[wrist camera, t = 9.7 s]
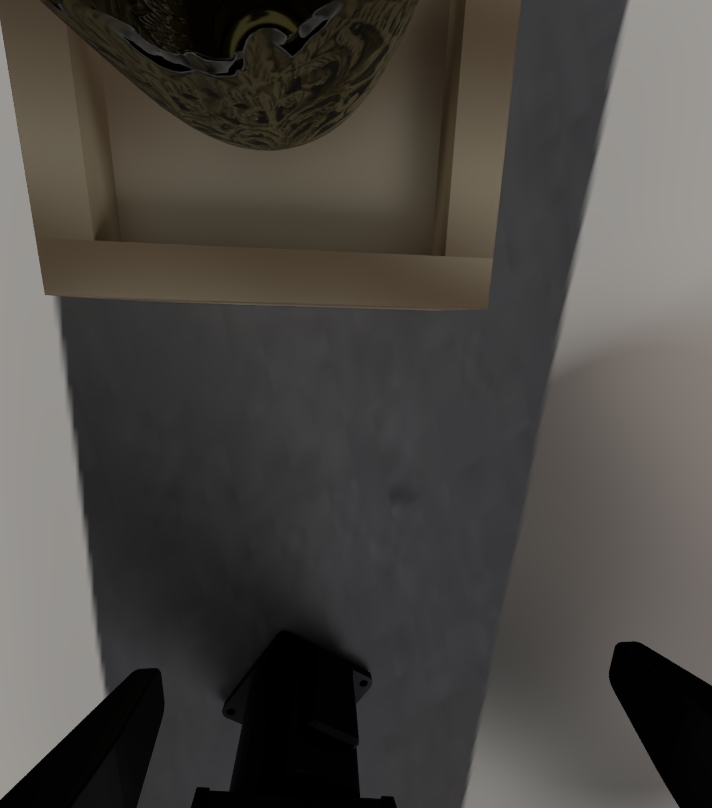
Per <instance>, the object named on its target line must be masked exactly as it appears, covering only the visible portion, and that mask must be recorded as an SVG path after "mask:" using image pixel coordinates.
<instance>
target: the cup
mask: <svg viewBox="0 0 712 808" xmlns="http://www.w3.org/2000/svg"><path fill="white" fill-rule="evenodd" d="M40 1H41V2H42V3H43V4H44V5H45V6H46V7H48V8H49V9H50V10H51V11H52V12H53V13H54V14H55V15H56V16H57V17H59V18H60V19H61V20H62V21H63V22H64V23H65V24H66V25H67V26H68V27H70V28H71V29H72V30H73V31H74V32H75V33H76V34H77V35H78V36H80V37H81V38H82V39H83V40H84V41H85V42H86V43H87V44H89V45H90V46H91V47H92V48H93V49H94V50H95V51H96V52H98V53H99V54H100V55H101V56H102V57H103V58H104V59H105V60H107V61H108V62H109V63H110V64H111V65H112V66H113V67H115V68H116V69H117V70H118V71H119V72H120V73H121V74H123V75H124V76H125V77H126V78H127V79H128V80H130V81H131V82H132V83H133V84H134V85H135V86H137V87H138V88H139V89H140V90H141V91H143V92H144V93H145V94H146V95H147V96H149V97H150V98H151V99H152V100H154V101H155V102H156V103H157V104H158V105H160V106H161V107H162V108H164V109H165V110H167V111H168V112H170V113H171V114H172V115H174V116H175V117H177V118H178V119H180V120H181V121H183V122H184V123H186V124H187V125H189V126H190V127H192V128H194V129H196V130H198V131H200V132H201V133H203V134H205V135H207V136H209V137H212V138H214V139H216V140H219V141H221V142H224V143H226V144H229V145H233V146H237V147H240V148H245V149H252V150H264V151H275V150H284V149H290V148H294V147H298V146H302V145H305V144H307V143H310V142H313V141H315V140H317V139H319V138H321V137H323V136H325V135H326V134H328V133H330V132H331V131H332V130H334V129H335V128H337V127H338V126H339V125H341V124H342V123H343V122H344V121H345V120H346V119H347V118H348V117H349V116H351V114H352V113H353V112H354V111H355V110H356V109H357V108H358V107H359V106H360V104H361V103H362V102H363V101H364V100H365V99H366V98H367V96H368V95H369V94H370V92H371V91H372V89H373V88H374V86H375V85H376V83H377V82H378V80H379V79H380V77H381V76H382V74H383V72H384V71H385V69H386V67H387V65H388V64H389V62H390V60H391V58H392V56H393V54H394V53H395V51H396V49H397V47H398V45H399V43H400V41H401V39H402V37H403V35H404V33H405V31H406V29H407V27H408V25H409V23H410V21H411V19H412V16H413V14H414V12H415V10H416V8H417V6H418V4H419V2H420V0H40Z"/></svg>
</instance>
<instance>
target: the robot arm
mask: <svg viewBox="0 0 712 808" xmlns="http://www.w3.org/2000/svg"><path fill="white" fill-rule="evenodd" d="M282 641H287V642H282ZM609 679H610V683H611V686H612V688H613V690H614V692H615V694H616V696H617V697H618V699H619V701H620V703H621V705H622V707H623V708H624V710H625V712H626V714H627V716H628V718H629V719H630V721H631V723H632V725H633V727H634V728H635V731H636V732H637V734H638V736H639V738H640V739H641V742H642V743H643V745H644V747H645V749H646V750H647V752H648V754H649V756H650V758H651V760H652V762H653V763H654V765H655V767H656V769H657V771H658V772H659V774H660V776H661V778H662V779H663V781H664V783H665V785H666V786H667V788H668V789H669V791H670V793H671V794H672V796H673V798H674V799H675V801H676V803H677V804H678V806H679V807H680V808H712V686H711V685H709V684H708V683H706V682H705V681H703V680H701V679H700V678H698V677H696V676H695V675H693V674H691V673H690V672H688V671H686V670H685V669H683V668H681V667H680V666H678V665H677V664H675V663H673V662H671V661H670V660H668V659H667V658H665V657H663V656H662V655H660V654H658V653H657V652H655V651H653V650H652V649H650V648H648V647H647V646H645V645H643V644H642V643H639V642H635V641H634V642H620V643H618V644H617V645H616V646H615V649H614V653H613V657H612V661H611V666H610V670H609ZM371 685H372V677H371V674H370V672H368V671H367V670H365V669H363V668H361V667H359V666H357V665H355V664H353V663H351V662H349V661H347V660H345V659H343V658H341V657H339V656H337V655H335V654H333V653H331V652H329V651H327V650H325V649H323V648H321V647H319V646H317V645H315V644H313V643H311V642H309V641H307V640H305V639H303V638H301V637H299V636H297V635H294V634H292V633H290V632H288V631H282V632H280V633H278V634H277V635H276V637H275V638H274V639H273V641H272V642H271V643H270V644H269V646H268V647H267V648H266V650H265V651H264V652H263V653H262V655H261V656H260V657H259V659H258V660H257V661H256V662H255V664H254V665H253V666H252V668H251V669H250V670H249V672H248V673H247V674H246V675H245V677H244V678H243V679H242V681H241V682H240V683H239V684H238V686H237V687H236V688H235V690H234V691H233V692H232V693H231V695H230V696H229V697H228V699H227V700H226V701H225V703H224V707H223V710H222V713H223V715H224V716H225V717H226V718H228V719H231V720H233V721H236V722H238V723H240V724H242V729H241V734H240V739H239V744H238V749H237V754H236V759H235V764H234V769H233V774H232V779H231V784H230V790H229V792H227V791H209V790H210V788H207V787H197V789H196V792H195V795H194V799H193V802H192V806H191V808H397V807H396V803H395V800H394V797H392V796H381V799H374V798H360V787H359V774H358V761H357V748H356V747H357V746H358V745H359V735H358V723H357V711H356V703H357V702H358V701H359V700H360V699H361V697H362V696H363V695H364V694H365V693H366V692H367V690H368V689H369V688H370V687H371ZM163 713H164V694H163V685H162V677H161V672H160V670H159V669H158V668H146V669H137V670H135V671H134V672H132V673H131V674H130V675H129V676H128V677H127V678H126V679H125V680H124V681H123V682H122V683H121V684H120V685H118V686H117V687H116V688H115V689H114V690H113V691H112V692H111V693H110V694H109V695H108V696H107V697H106V698H105V699H104V700H103V701H102V702H101V703H100V704H99V705H98V706H97V707H96V708H95V709H94V710H93V711H92V712H91V713H90V714H89V715H88V716H86V718H84V719H83V720H82V721H81V722H80V723H79V724H78V725H77V726H76V727H75V728H74V729H73V730H72V731H71V732H70V733H69V734H68V735H67V736H66V737H65V738H64V739H63V740H62V741H61V742H60V743H59V744H58V745H57V746H56V747H55V748H54V749H53V750H51V751H50V752H49V753H48V754H47V755H46V756H45V757H44V758H43V759H42V760H41V761H40V762H39V763H38V764H37V765H36V766H35V767H34V768H33V769H32V770H31V771H30V772H29V773H28V774H27V775H26V776H25V777H24V778H23V779H21V780H20V781H19V783H17V784H16V785H15V786H14V787H13V788H12V789H11V790H10V791H9V792H8V793H7V794H6V795H5V796H4V797H3V798H2V799H1V800H0V808H136V807H137V804H138V800H139V797H140V793H141V790H142V787H143V783H144V780H145V776H146V773H147V769H148V766H149V762H150V759H151V756H152V752H153V749H154V745H155V742H156V738H157V735H158V731H159V728H160V724H161V721H162V717H163Z"/></svg>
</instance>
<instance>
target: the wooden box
mask: <svg viewBox="0 0 712 808" xmlns="http://www.w3.org/2000/svg"><path fill="white" fill-rule="evenodd" d="M520 8H521V0H420V2H419V4H418V6H417V8H416V10H415V12H414V14H413V16H412V19H411V21H410V23H409V25H408V27H407V29H406V31H405V33H404V35H403V37H402V39H401V41H400V43H399V45H398V47H397V49H396V51H395V53H394V54H393V56H392V58H391V60H390V62H389V64H388V65H387V67H386V69H385V71H384V72H383V74H382V76H381V77H380V79H379V80H378V82H377V83H376V85H375V86H374V88H373V89H372V91H371V92H370V94H369V95H368V96H367V98H366V99H365V100H364V101H363V102H362V103H361V104H360V106H359V107H358V108H357V109H356V110H355V111H354V112H353V113H352V114H351V116H349V117H348V118H347V119H346V120H345V121H344V122H343V123H342V124H341V125H339V126H338V127H337V128H335V129H334V130H332V131H331V132H330V133H328V134H326V135H325V136H323V137H321V138H319V139H317V140H315V141H313V142H310V143H307V144H305V145H302V146H298V147H294V148H290V149H284V150H275V151H264V150H252V149H245V148H240V147H237V146H233V145H229V144H226V143H224V142H221V141H219V140H216V139H214V138H212V137H209V136H207V135H205V134H203V133H201V132H200V131H198V130H196V129H194V128H192V127H190V126H189V125H187V124H186V123H184V122H183V121H181V120H180V119H178V118H177V117H175V116H174V115H172V114H171V113H170V112H168V111H167V110H165V109H164V108H162V107H161V106H160V105H158V104H157V103H156V102H155V101H154V100H152V99H151V98H150V97H149V96H147V95H146V94H145V93H144V92H143V91H141V90H140V89H139V88H138V87H137V86H135V85H134V84H133V83H132V82H131V81H130V80H128V79H127V78H126V77H125V76H124V75H123V74H121V73H120V72H119V71H118V70H117V69H116V68H115V67H113V66H112V65H111V64H110V63H109V62H108V61H107V60H105V59H104V58H103V57H102V56H101V55H100V54H99V53H98V52H96V51H95V50H94V49H93V48H92V47H91V46H90V45H89V44H87V43H86V42H85V41H84V40H83V39H82V38H81V37H80V36H78V35H77V34H76V33H75V32H74V31H73V30H72V29H71V28H70V27H68V26H67V25H66V24H65V23H64V22H63V21H62V20H61V19H60V18H59V17H57V16H56V15H55V14H54V13H53V12H52V11H51V10H50V9H49V8H48V7H46V6H45V5H44V4H43V3H42V2H41V1H40V0H0V21H1V27H2V33H3V40H4V45H5V51H6V58H7V64H8V70H9V76H10V82H11V88H12V95H13V101H14V107H15V113H16V119H17V126H18V131H19V138H20V143H21V150H22V156H23V162H24V169H25V175H26V181H27V187H28V193H29V199H30V205H31V211H32V217H33V224H34V230H35V236H36V242H37V248H38V255H39V261H40V267H41V273H42V279H43V285H44V291H45V295H55V296H70V297H85V298H100V299H116V300H131V301H148V302H180V303H212V304H244V305H275V306H307V307H339V308H370V309H402V310H473V309H488V300H489V290H490V281H491V272H492V263H493V254H494V245H495V236H496V227H497V217H498V208H499V199H500V190H501V181H502V172H503V163H504V154H505V145H506V135H507V126H508V117H509V108H510V99H511V90H512V81H513V72H514V62H515V53H516V44H517V35H518V26H519V17H520Z"/></svg>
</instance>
